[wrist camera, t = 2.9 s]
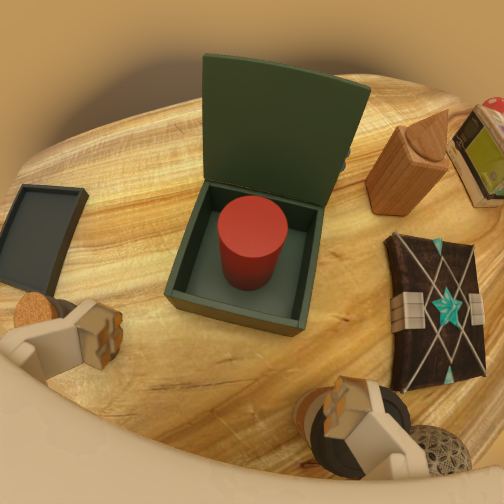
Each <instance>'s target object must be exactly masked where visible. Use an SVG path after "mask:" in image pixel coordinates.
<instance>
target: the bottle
mask: <svg viewBox="0 0 504 504" xmlns="http://www.w3.org/2000/svg"><path fill="white" fill-rule="evenodd" d="M76 307H77V305H75V304H73V303H71V302H68V301H66V300H62V299H55V298H53V297H50V296H44V295H42V294H41V293H38V292H30V293H28V294H26V295H25V296H23V297H22V298H21V300H20V301H19V303H18V304H17V307H16V309H15V314H14V327H15V328H18V327H22V326H26V325H31V324H35V323H40V322H44V321H48V320H52V319H57V318H62V319H64V318H65V317H66V316H67V315H68V314H69V313H70V312H72V311H73V310H74V309H75V308H76ZM118 350H119V349H118ZM118 350H117V351H116V353H113V354H110V361H111V360H112V359H113V358H114V357H115V356H116V354H117V353H118Z"/></svg>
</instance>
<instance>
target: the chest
mask: <svg viewBox="0 0 504 504" xmlns="http://www.w3.org/2000/svg"><path fill="white" fill-rule="evenodd" d="M252 195H253V196H260V197H264V198H267V199H269V200H271V201H273V202H274V203H275V204H277V205H278V206H279V207H280V208H281V210H282V211H283V213H284V214H285V217H286V219H287V224H288V232H287V236H286V239H285V242H284V244H283V247H282V250H281V253H280V255H279V258H278V261H277V263H276V266H275V269H274V271H273V274H272V276H271V278H270V280H269V281H268V282H267V284H265V285H264V286H263V287H261V288H259V289H257V290H252V291H244V290H240V289H237V288H235V287H233V286H232V285H231V284H230V283H229V282H228V281H227V280H226V278H225V277H224V274H223V271H222V264H221V255H220V246H219V237H218V219H219V216H220V213H221V212H222V210H223V209H224V207H225V206H226V205H227V204H229V203H230V202H231V201H233V200H235V199H237V198H239V197H243V196H252ZM324 209H325V206H321V205H317V204H313V203H310V202H306V201H302V200H298V199H294V198H289V197H285V196H281V195H277V194H273V193H268V192H264V191H260V190H255V189H251V188H246V187H241V186H237V185H232V184H227V183H222V182H217V181H213V180H208V179H205V180H204V183H203V185H202V188H201V190H200V193H199V196H198V198H197V201H196V203H195V206H194V209H193V211H192V214H191V217H190V219H189V222H188V225H187V227H186V230H185V233H184V236H183V239H182V241H181V244H180V247H179V250H178V253H177V256H176V258H175V261H174V264H173V267H172V270H171V273H170V276H169V279H168V282H167V285H166V288H165V292H164V295H165V296H166V298H167V299H168V300H169V301H170V302H171V303H172V304H173V305H174V306H175V308H177V309H180V310H184V311H187V312H191V313H194V314H198V315H202V316H206V317H209V318H213V319H217V320H221V321H225V322H229V323H233V324H237V325H241V326H245V327H249V328H253V329H258V330H262V331H266V332H271V333H275V334H280V335H284V336H289V337H293V336H295V335H297V334H298V333H300V332H302V331H303V330H305V327H306V322H307V317H308V311H309V306H310V300H311V295H312V289H313V283H314V277H315V271H316V265H317V258H318V252H319V245H320V238H321V231H322V224H323V216H324Z"/></svg>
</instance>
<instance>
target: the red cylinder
mask: <svg viewBox="0 0 504 504" xmlns="http://www.w3.org/2000/svg"><path fill="white" fill-rule="evenodd" d="M287 232H288V224H287V219H286V217H285V214H284V213H283V211H282V210H281V208H280V207H279V206H278V205H277V204H275V203H274V202H273V201H271V200H269V199H267V198H264V197H260V196H253V195H252V196H243V197H239V198H237V199H235V200H233V201H231V202H230V203H229V204H227V205H226V206H225V207H224V209H223V210H222V212H221V213H220V216H219V219H218V237H219V246H220V255H221V264H222V271H223V274H224V277H225V278H226V280H227V281H228V282H229V283H230V284H231V285H232V286H233V287H235V288H237V289H240V290H244V291H252V290H257V289H259V288H261V287H263V286H264V285H265V284H267V282H268V281H269V280H270V278H271V276H272V274H273V271H274V269H275V266H276V263H277V261H278V258H279V255H280V253H281V250H282V247H283V244H284V242H285V239H286V236H287Z"/></svg>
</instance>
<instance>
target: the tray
mask: <svg viewBox="0 0 504 504" xmlns="http://www.w3.org/2000/svg"><path fill="white" fill-rule="evenodd" d="M88 196H89V195H88V194H87V192H86V191H85V189H84V188H75V187H62V186H48V185H31V184H22V185H21V187H20V189H19V191H18V194H17V196H16V198H15V200H14V202H13V204H12V206H11V208H10V211H9V213H8V215H7V218H6V220H5V222H4V225H3V227H2V230H1V232H0V282H2V283H5V284H7V285H10V286H13V287H16V288H18V289H21V290H24V291H27V292H29V293H30V292H38V293H41V294H42V295H44V296H50V297H53V296H54V292H55V289H56V285H57V282H58V278H59V275H60V272H61V268H62V265H63V262H64V259H65V256H66V253H67V250H68V247H69V244H70V242H71V239H72V236H73V233H74V231H75V228H76V226H77V223H78V220H79V218H80V215H81V213H82V210H83V208H84V206H85V203H86V201H87V199H88Z"/></svg>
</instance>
